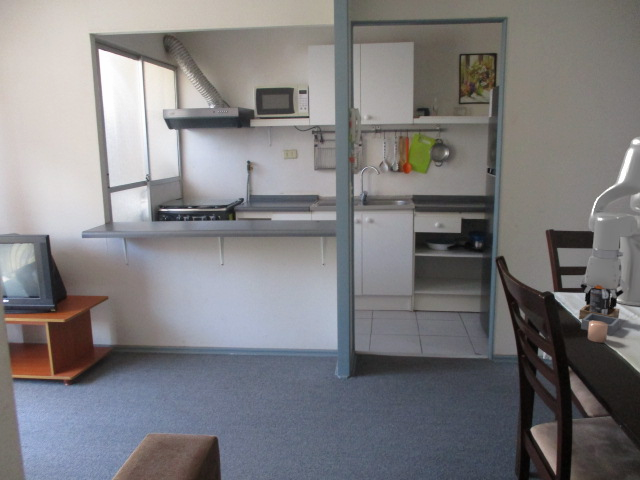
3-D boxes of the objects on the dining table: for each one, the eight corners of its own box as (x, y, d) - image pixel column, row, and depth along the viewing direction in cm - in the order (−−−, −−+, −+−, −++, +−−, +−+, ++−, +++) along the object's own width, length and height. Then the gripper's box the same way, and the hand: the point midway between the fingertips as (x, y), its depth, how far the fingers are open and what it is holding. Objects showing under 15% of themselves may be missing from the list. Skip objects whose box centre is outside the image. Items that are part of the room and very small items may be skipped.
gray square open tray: (589, 321, 178) (590, 312, 178) (618, 327, 173) (620, 317, 172) (580, 328, 172) (581, 318, 171) (611, 335, 166) (612, 325, 165)
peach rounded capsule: (590, 335, 167) (592, 319, 166) (608, 339, 163) (609, 323, 162) (585, 339, 163) (586, 323, 162) (603, 343, 160) (605, 327, 159)
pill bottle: (611, 319, 177) (613, 286, 175) (591, 318, 179) (593, 285, 176) (605, 313, 183) (607, 281, 181) (586, 312, 184) (588, 280, 182)
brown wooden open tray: (587, 312, 188) (588, 303, 187) (618, 318, 181) (619, 309, 181) (579, 319, 181) (579, 310, 180) (610, 325, 174) (611, 316, 174)
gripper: (637, 255, 174) (632, 308, 177) (580, 248, 185) (576, 298, 189) (632, 259, 168) (626, 314, 172) (573, 252, 180) (569, 303, 183)
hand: (600, 305), depth 180 cm, fingers open, 6 cm apart
